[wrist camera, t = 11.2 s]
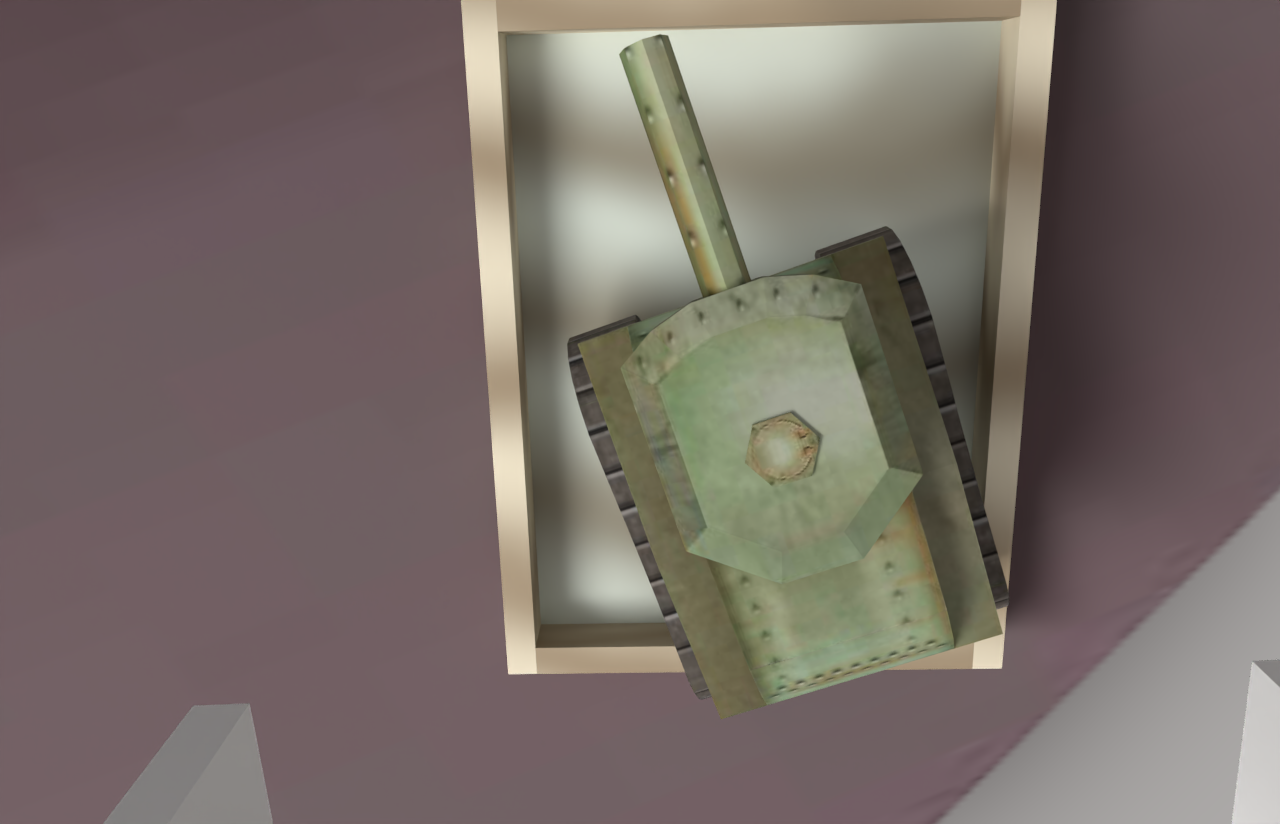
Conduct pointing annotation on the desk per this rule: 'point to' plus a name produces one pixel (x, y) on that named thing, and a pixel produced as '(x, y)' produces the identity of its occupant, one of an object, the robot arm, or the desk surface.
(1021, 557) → the desk surface
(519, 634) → the beige tray
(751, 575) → the toy
